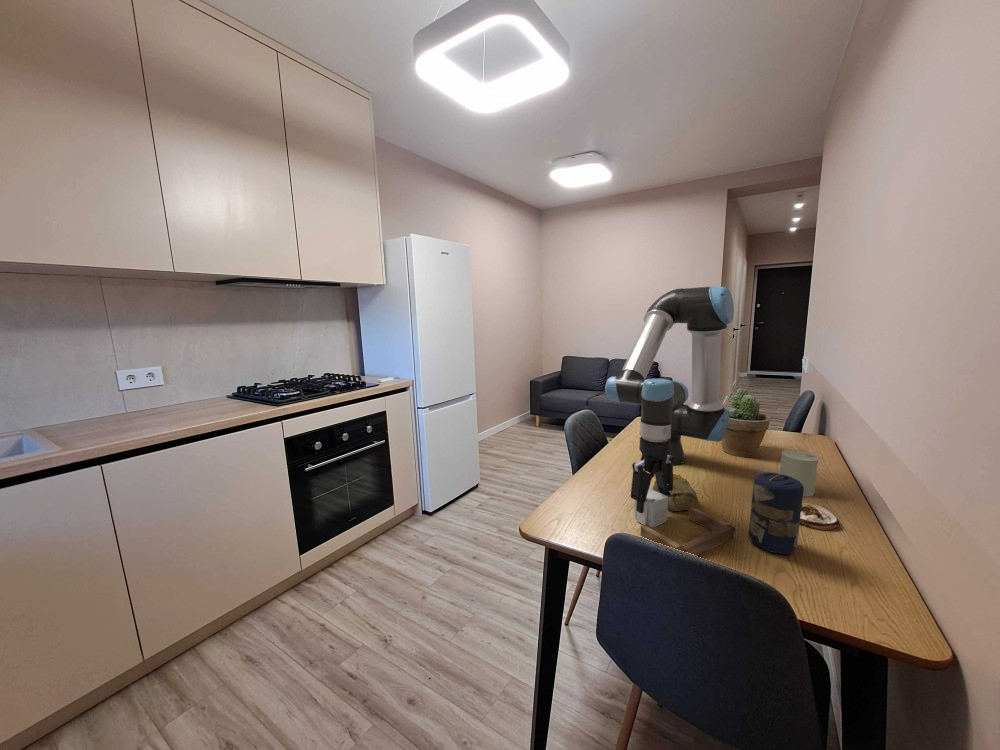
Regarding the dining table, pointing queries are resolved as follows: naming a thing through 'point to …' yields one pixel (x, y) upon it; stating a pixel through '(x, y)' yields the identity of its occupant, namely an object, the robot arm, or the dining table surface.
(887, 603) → the dining table surface
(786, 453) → the can
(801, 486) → the canister
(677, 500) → the pastry
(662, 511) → the skincare box
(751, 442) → the potted plant
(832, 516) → the sushi roll
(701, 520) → the bay
